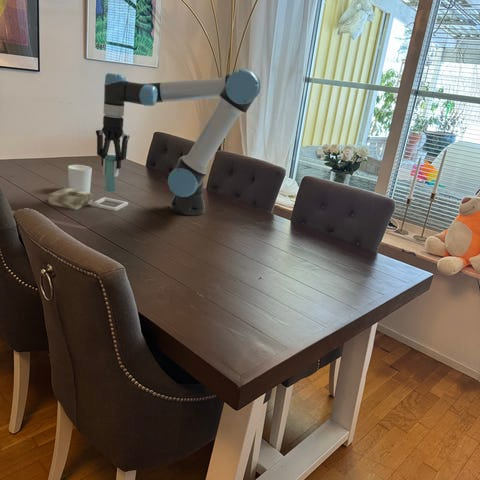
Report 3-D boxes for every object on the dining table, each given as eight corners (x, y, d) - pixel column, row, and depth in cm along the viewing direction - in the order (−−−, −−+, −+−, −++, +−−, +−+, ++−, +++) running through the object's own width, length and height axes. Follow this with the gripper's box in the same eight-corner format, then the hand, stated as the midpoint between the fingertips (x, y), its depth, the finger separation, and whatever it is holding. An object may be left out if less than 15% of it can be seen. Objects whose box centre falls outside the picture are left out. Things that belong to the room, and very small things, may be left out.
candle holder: (76, 198, 190) (76, 170, 185) (62, 192, 195) (63, 165, 191) (95, 195, 197) (96, 169, 193) (82, 190, 202) (83, 164, 198)
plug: (117, 190, 184) (119, 156, 180) (112, 192, 180) (114, 158, 175) (107, 187, 185) (108, 154, 180) (101, 190, 180) (103, 155, 176)
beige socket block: (92, 204, 185) (92, 193, 183) (76, 212, 174) (76, 199, 172) (66, 199, 187) (66, 187, 185) (48, 206, 176) (48, 193, 174)
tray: (127, 206, 189) (128, 202, 188) (115, 213, 179) (115, 208, 178) (104, 201, 191) (104, 197, 190) (90, 207, 181) (90, 203, 180)
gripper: (138, 119, 174) (134, 177, 182) (98, 112, 177) (96, 169, 185) (129, 120, 167) (125, 180, 175) (88, 112, 170) (86, 172, 178)
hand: (110, 175), depth 180 cm, fingers closed on plug, 4 cm apart
